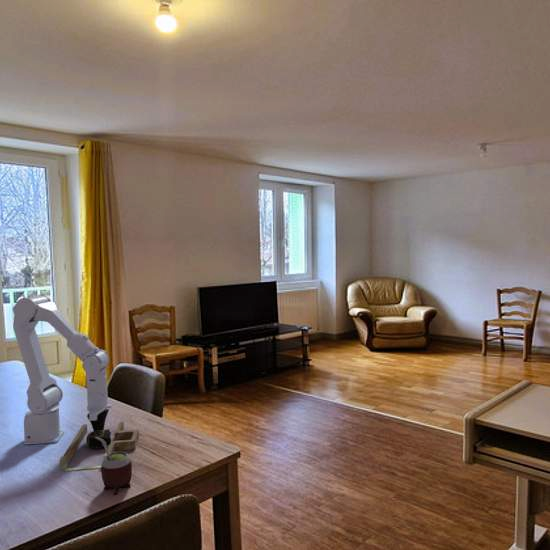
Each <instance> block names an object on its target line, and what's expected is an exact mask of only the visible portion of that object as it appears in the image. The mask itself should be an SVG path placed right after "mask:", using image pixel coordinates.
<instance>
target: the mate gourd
mask: <svg viewBox="0 0 550 550" xmlns="http://www.w3.org/2000/svg"><path fill="white" fill-rule="evenodd" d="M95 438H96V439H98V440H100V441H101V442H102V444H103V446H104V447H103V448H104V449H105V453H107V456H106V457H105V458H104V457H103V460H102V463H101V465H102V466H101V468H100V473H101V478H102V482H103V484H104V486H103V491H109V490H112V491H113V490H114V491H113V496H117V495H118V493H119V490H120V489H121V490H122V489H129V488H131V486H132V483H131V480H132V474H133V463H132V460H131V457H130V456H129V454H128V453H126V452H125V451H115V452H114V453H111V454H109V451H108V446H106V442H105V441H104V440H103V439H101V438H98V437H95ZM130 483H131V484H130Z"/></svg>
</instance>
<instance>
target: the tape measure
mask: <svg viewBox="0 0 550 550" xmlns="http://www.w3.org/2000/svg"><path fill="white" fill-rule="evenodd" d="M111 435H112V431H110V429H109V428H107V429H104V430H96V431H90V432H88V434H87V435H86V440H85V441H86V442H85V443H86V445H87V447H88V448H91V449H101V448H104V446H103V444H102V442H101V441H100V440H98V439H96V438H95V437H98V438H101V439H103V440H104V441H105V442H106V446H107V447H109V445H110V443H111V441H112V437H111Z"/></svg>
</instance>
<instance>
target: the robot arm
mask: <svg viewBox="0 0 550 550" xmlns="http://www.w3.org/2000/svg"><path fill="white" fill-rule="evenodd" d="M12 313H13V314H14V316H13V322H12V323H13V324H12V328H13V331H14V335H15V339H16V341H17V345H18V347H19V350H20V351H19V352H20V354H21V358H22V360H23V364H24V367H25V370H26V373H27V376H28V379H29V386H28V387H27V390H26V396H27V399H26V400H27V402H26V405H27V408H28V409H29V410H28V411H26V412H25V415H24V418H23V433H24V435H23V436H24V443H23V445H25V446H26V445H38V444H51V443H58V442H59V441H60V440H61V437H62V436H63V435H64V433H65V430H61V426H60V425H61V423H60V422H61V421H60V402H61V401H62V400H63V396H64V393H63V392H64V391H63V390H62V388H61V387H60V386H59V384H58V383H57V380H56V379H55V378H53V377H52V376H51V375H50V373H49V370H48V367H47V364H46V360H45V357H44V354H43V351H42V347H41V344H40V341H39V338H38V335H37V331H36V327H37V325H38V323H39V322H46V323H48V324H49V325H50V326H51V327H52V328H53V329H55V331H57V333H59V335H61V336H62V337H63V338H64V339H65V340H66V347H68V349H69V350H70V351H71V352H72V353H73V354H74V355H75V356H76V357H77V358H78V360H79V361H80V362H81V367H82V369H83V371H84V372H85V375H86V393H87V395H86V397H87V408H86V409H87V410H86V411H87V415H86V417H87V419H88V420H89V422H90V425H91V427H92V430H93V431H96V430H105V425H106V420H107V416H108V413H109V411H110V410H109V409H111V408H112V406H113V404H112V403H109V402H108V378H107V377H108V376H107V375H108V374H107V367H108V365H109V363H110V356H109V354H108V353H107V351H106V350H104V349H100V348H99V347H98V346H96V345H95V344H94V343H93V342H92V341H91V340H90V339H89V338H90V337H89V335H88V334H85V333H83V332H77V331H76V330H75V329H74V327H73V326H72V325H71V324H70V323H69V322H68V320H67V319H66V318H65V316H63V314H62V313H61V312H60V311H59V309H58V308H57V305H56V303H55V302H54V301H52V300H51V298H50V297H49V296H48V295H46V294H38V295H35V296H29V297H22V298H20V299H18V300H17V301H16V303H15V304H14V305H13V307H12ZM93 431H92V432H93Z"/></svg>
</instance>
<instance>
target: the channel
mask: <svg viewBox="0 0 550 550" xmlns="http://www.w3.org/2000/svg"><path fill="white" fill-rule="evenodd" d="M124 422H125V421H119V422H118V425H117V427H116V429H115V432H114V440H111V443H110V445H108V447H107V449H108V451H109V454H111V453H114V452H123V451H130V450H131V451H132V450H133V451H134V450H136V449H137V444H138V442H139V438H140V432H139V429H130V430H129V429H128V430H125V425H124V424H125V423H124ZM87 433H88V424H87V423H84V424H82V425H81V427H80V428H79V430H78V432H77V433H76V435H74V436H75V437H74V438H73V439H72V441H71V443H70V444H69V446H68V448H67V449H66V451H65V452H64V454H63V455H62V456H61V457H60V458H59V471H64V472H71V471H84V470H85V471H86V470H95V469H101V466H102V464H101V465H90V466H89V465H88V466H79V467H68V466H69V464H70V462H71V460H72V458H73V457H74V456H75V454H76V452H77V450H78V448H79V447H80V446H81V443H82V442H83V440H84V438H85V437H86V436H87V435H86V434H87ZM106 456H107V453H106V452H105V453H104V455H103V459H104V458H105V457H106Z"/></svg>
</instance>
